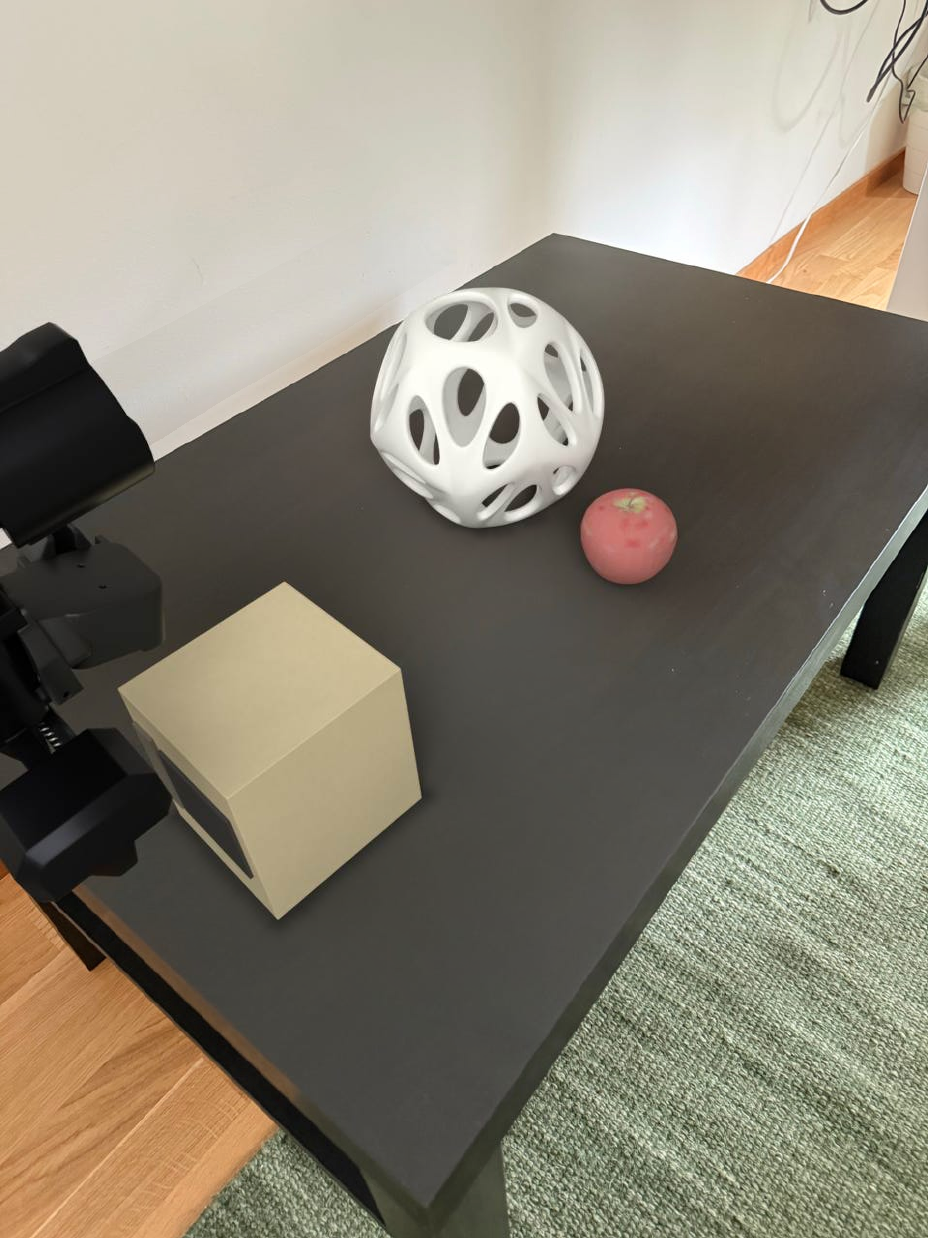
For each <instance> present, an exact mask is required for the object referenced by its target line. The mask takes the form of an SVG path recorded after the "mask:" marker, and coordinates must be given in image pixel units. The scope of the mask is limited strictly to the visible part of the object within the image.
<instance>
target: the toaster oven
mask: <svg viewBox="0 0 928 1238" xmlns="http://www.w3.org/2000/svg"><path fill="white" fill-rule="evenodd" d="M117 691H118V693H119V696H120V697H121V699H122V701H123V703H124V706H125V707H126V709H127V711H128V714H129V715H130V717H131V719H132V721H133V722H131V725H132V727H133V729H134V731H135V733H136V734H137V737H138V739H139V741H140V743H141V745H142V747H143V749H144V751H145V753H146V755H147V757H148V759H149V761H150V763H151V766H152V768H153V769H154V770H155V772H156V773H157V774H158V776H159V777H160V778H161V780H162V781H163V783H164V784H165V786H166V787H167V789H168V790H169V792H170V793H171V795H172V796H173V800H172V802H173V803H174V805H175V808H176V809H177V811H178V813H179V815H180V816H181V817H182V819H184V820H185V822H186V823H188V825H189V826H190V827H191V828H192V829H193V831H195V833H197V835H199V837H200V838H201V839H202V840H203V841H204V842H205V843H206V844H207V845H208V846H209V847H210V848H211V850H213V852H214V853H215V854H216V855H217V856H218V857H219V859H221V861H222V862H223V863H224V864H225V865H226V866H227V867H228V868H229V869H230V870H231V871H232V872H233V874H234V875H235V876H236V877H237V878H238V879H239V880H240V881H241V882H242V884H244V885H245V887H247V888H248V889H249V891H251V893H252V894H253V895H254V896H255V897H256V898H257V899H258V900H259V901H260V903H261V904H262V905H263V906H264V907H265V908H266V909H267V910H268V911H269V912H270V913H271V914H272V915H273V917H274V918H275V919H276V920H278V921H279V920H280V919H281V918H282V917H284V916H285V915H286V914H287V913H289V911H291V910H292V909H293V908H294V907H295V906H297V905H298V904H299V903H300V902H301V901H303V900H304V899H305V898H306V897H307V896H308V895H309V894H310V893H312V892H313V891H314V890H315V889H317V888H318V887H319V886H320V885H321V884H322V883H323V882H325V881H326V880H327V879H328V878H330V877H331V876H332V875H333V874H334V873H335V872H337V870H339V869H340V868H341V867H342V866H344V865H345V864H346V863H347V862H348V861H350V860H351V859H352V858H353V857H354V856H355V855H356V854H358V853H359V852H360V851H361V850H362V849H363V848H365V847H366V846H367V845H368V844H369V843H370V842H372V841H373V840H374V839H375V838H376V837H378V836H379V835H380V834H381V833H382V832H384V831H385V830H386V829H387V828H388V827H389V826H391V825H392V824H393V823H394V822H395V821H396V820H397V819H399V818H400V817H401V816H402V815H403V814H404V813H406V812H407V811H409V809H410V808H412V807H413V806H414V805H415V804H417V802H418V801H420V800H421V799H422V798H423V797H422V791H421V785H420V779H419V772H418V766H417V760H416V754H415V749H414V748H415V747H414V742H413V735H412V728H411V723H410V717H409V711H408V704H407V699H406V693H405V687H404V680H403V675H402V669H401V667H399V666H398V665H397V664H395V663H394V662H393V661H391V660H390V659H389V658H387V657H386V656H385V655H383V654H382V653H381V652H380V651H378V650H377V649H376V648H374V647H373V646H371V645H370V644H369V643H367V642H366V640H364V639H362V638H361V637H359V636H358V635H357V634H355V633H354V632H353V631H352V630H350V629H349V628H347V627H346V626H345V625H344V624H342V623H341V622H339V620H337V619H335V618H334V617H333V616H332V615H330V614H329V613H328V612H326V611H325V610H323V609H322V608H321V607H320V606H318V605H317V604H316V603H314V602H313V601H311V600H310V599H309V598H308V597H306V596H305V595H304V594H302V593H301V592H299V591H298V590H297V589H295V588H294V587H293V586H292V585H290V584H289V583H287V582H286V581H283V582H282V583H280V584H278V585H277V586H275V587H274V588H272V589H271V590H269V591H267V592H266V593H264V594H263V595H261V596H259V597H257V598H256V599H255V600H254V601H252V602H250V603H249V604H247V605H246V606H244V607H242V608H241V609H239V610H237V611H236V612H235V613H232V615H230V616H229V617H227V618H225V619H224V620H222V621H221V622H219V623H217V624H216V625H214V626H213V627H211V628H210V629H209V630H207V631H205V632H204V633H202V634H200V635H199V636H197V637H196V638H194V639H193V640H191V641H190V642H188V643H187V644H185V645H183V646H182V647H179V649H177V650H175V651H174V652H173V653H171V654H169V655H168V656H166V657H164V658H163V659H161V660H160V661H158V662H156V663H155V664H153V665H152V666H150V667H149V668H147V669H146V670H144V671H143V672H140V674H138V675H136V676H135V677H133V678H131V679H130V680H129V681H127V682H126V683H124V684H122V685H121V686H120V687H118V688H117Z"/></svg>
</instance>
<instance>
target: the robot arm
mask: <svg viewBox="0 0 928 1238" xmlns="http://www.w3.org/2000/svg"><path fill="white" fill-rule="evenodd" d="M155 472H156V461H155V459H154V454H153V452H152V449H151V447H150V445H149V442H148V440H147V438H146V436H145V434H144V432H143V430H142V428H141V427H140V425H139V424H138V422H136V421H135V420H134V419H133V418H131V417H130V416H129V415H128V414H127V413H126V411H125V410H124V408H123V406H122V405H121V403H120V402H119V400H118V399H117V397H116V396H115V394H114V393H113V392H112V390H111V389H110V387H109V386H108V385H107V383H106V382H105V381H104V379H103V378H102V376H100V374H99V373H98V372H97V370H95V368H94V367H93V366H92V365H91V364H90V362H89V361H88V358H87V357H86V354H85V352H84V351H83V348H82V346H81V344H80V342H79V340H78V339H76V338H75V337H74V336H72V335H71V334H70V333H69V332H67V330H64V329H63V328H62V327H61V326H59V325H58V324H57V323H55V322H54V323H53V322H52V321H48V322H46V323H44V324H42V325H40V326H37V327H35V328H33V329H31V330H29V331H27V332H26V333H24V334H22V335H20V336H19V337H17V338H16V339H15V340H14V341H13V342H12V343H10V344H9V345H8V346H7V347H6V348H4V349H2V350H1V351H0V530H1V529H2V531H3V533H4V534H5V535H6V537H7V538H8V539H9V541H10V542H11V544H12V545H13V546H14V548H16V550H20V551H19V556H18V557H16V558H15V562H16V567H15V568H14V569H13V570H12V571H11V572H9V573H6V574H3V575H1V576H0V754H2V755H4V756H6V757H9V758H11V759H14V760H16V761H18V762H21V764H22V765H23V766H24V767H25V769H26V771H25V772H24V773H22V774H21V775H20V776H18V777H16V778H15V779H14V780H12V781H11V782H9V783H8V784H7V785H5V786H4V787H2V788H1V789H0V861H1V862H2V864H3V865H4V867H5V868H6V870H7V871H8V873H9V875H10V876H11V877H12V878H13V881H15V882H16V883H17V884H18V885H19V886H20V887H21V889H23V890H24V891H25V892H26V893H27V894H28V895H30V896H31V897H32V898H33V900H35V901H36V902H37V903H55V902H57V903H58V902H59V901H60V900H62V899H63V898H64V897H65V896H67V895H68V894H69V893H70V892H72V891H73V890H75V888H77V887H78V886H79V885H81V884H82V883H84V882H85V881H86V880H87V879H88V878H90V877H109V878H110V877H116V878H117V877H118V878H119V877H122V876H123V875H126V874H127V873H128V872H129V871H130V870H131V869H132V868H133V867H135V866H136V865H137V864H138V862H139V856H138V850H137V845H136V841H137V840H138V839H139V838H141V837H142V836H143V835H144V834H146V833H147V832H148V831H149V830H150V829H152V828H153V827H154V826H156V825H157V824H158V823H159V822H161V821H162V820H163V819H165V818H166V817H168V815H170V811H171V807H172V804H173V796H172V795H171V793H170V792H169V790H168V789H167V787H166V786H165V784H164V783H163V781H162V780H161V778H160V777H159V776H158V774H157V773H156V771H155V769H154V767H153V766H152V765H150V764H149V762H148V761H147V760H146V759H145V758H144V757H143V756H142V755H141V754H140V752H139V751H138V750H137V749H136V748H135V747H134V746H133V744H131V742H130V741H129V740H128V739H127V738H126V736H124V735H123V733H122V732H121V731H120V730H119V729H118V728H117V727H116V726H109V727H89V728H88V727H87V728H86V729H84V730H82V731H81V732H80V733H79V734H77V733H76V732H75V731H74V730H73V729H72V728H71V727H70V726H69V724H68V723H67V722H66V721H65V720H64V718H63V717H62V716H61V715H60V714H59V712H58V711H57V710H56V709H55V708H54V707H53V705H51V703H53V704H54V705H56V706H62V705H63V704H65V703H66V702H67V701H69V700H70V699H72V698H73V697H74V696H76V695H78V694H79V693H80V692H82V691H84V690H85V687H84V686H83V684H82V683H81V682H80V680H79V678H78V677H77V676H76V675H75V673H74V671H73V670H76V671H77V670H80V671H81V670H88V669H92V668H95V667H99V666H101V665H103V664H106V663H108V662H111V661H115V660H118V659H119V658H122V657H125V656H128V655H131V654H133V653H137V652H139V651H142V652H150V651H152V650H154V649H156V648H158V647H160V646H161V645H162V644H163V643H164V642H165V640H166V623H165V606H164V593H163V592H164V591H163V590H164V589H163V579H162V577H161V576H160V575H159V574H158V573H157V572H156V571H155V570H153V568H152V567H150V566H149V565H148V564H147V563H145V561H143V560H142V559H141V558H140V557H139V556H138V555H137V554H135V553H134V552H133V551H132V550H131V549H130V548H129V547H128V546H126V545H124V544H121V543H118V542H112V541H110V540H109V539H108V537H106V536H105V535H104V534H98V535H95V536H94V544H93V543H91V541H90V540H89V539H88V538H87V537H86V536H85V534H84V533H83V532H82V531H81V530H80V528H79V527H78V526H77V525H75V524H74V523H73V522H74V521H76V520H77V519H80V518H81V517H83V516H85V515H86V514H88V513H90V512H92V511H93V510H95V509H96V508H99V507H100V506H102V505H103V504H105V503H106V502H108V501H110V500H112V499H114V498H115V497H117V496H119V495H120V494H122V493H124V492H126V491H127V490H129V489H130V488H132V487H134V486H135V485H137V484H140V483H141V482H142V481H144V480H146V479H148V478H149V477H151V476H153V475H154V474H155ZM49 744H50V745H49ZM50 746H51V747H52V748H53V750H54V751H53V752H52V750H51V747H50Z"/></svg>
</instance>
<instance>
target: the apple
mask: <svg viewBox="0 0 928 1238" xmlns="http://www.w3.org/2000/svg"><path fill="white" fill-rule="evenodd" d="M580 522H581V523H580V542H581V546H582V549H583V552H584V555H585V557H586V559H587V561H588V563H589V564H590V565H591V567H592V569H593V570H594V571H595V572H596V573H597V574H598V575H599V576H601V578H603V579H604V580H607V581H608V582H611V583H614V584H617V585H637V584H641V583H643V582H645V581H648V580H651V579H652V578H653V577H655V576H656V575H657V574H658V573H660V572H661V570H662V569H663V568H664V567H665V566H666V565H667V564H668V562H669V561H670V560H671V557H672V555H673V552H674V551H675V548H676V545H677V541H678V527H677V522H676V519H675V517H674V515H673V513H672V510H671V509H670V507H668V505H667V504H666V503H665V502H664V501H663V500H662V499H661V498H659V497H658V496H656V495H655V494H653V493H651V492H649V491H646V490H642V489H638V488H628V487H627V488H618V489H613V490H611V491H609V492H606V493H604V494H602V495H600V496H599V497H597V498H596V499H595V500H594V501H593V502H592V503H591V504H590V505H589V506H588V507H587V508H586V510H585V512H584V514H583V517H582V520H581V521H580Z"/></svg>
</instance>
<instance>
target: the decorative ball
mask: <svg viewBox="0 0 928 1238" xmlns="http://www.w3.org/2000/svg"><path fill="white" fill-rule="evenodd" d="M513 304H517V305H518V304H519V305H522V306H525V307H527V308H528V309H530V310H531V311H532V312H533V313H534V315H531V316H520V315H517V314H516V313H515V312H514V311H513V309H512V306H511V305H513ZM457 305H465V306H467V311H466V315H465V317H464V320H463V322H462V324H461V326H460V327H459V329H458V331H456V333H455V334H454V336H453V337H452V338H450V339H446V338H443V337H441V336H438V335H436V334H435V331H434V329H435V324H436V321H437V319H438V318H439V317H440V315H441V314H442V313H443V312H445V310H448V309H449V308H451V307H454V306H457ZM491 313H492V314H493V319H492V322H491V324H490V327H489V328H488V329H487V331H486V332H485V333H484V334H483V336H482V337H480V338H479V339H478V340H474V341H469V339H470V338H471V335H472V334H473V332H474V331H475V329H476V327H477V326H478V325H479V323H481V321H482V320H483V319H484V318H485V317H486V316H487V315H489V314H491ZM548 345H549V346H552V348H554V350H555V351H556V353H557V357H556V356H554V355H552V354H549V353H548V352H547V351H546V348H547V346H548ZM581 360H582V362H583V364H584V366H585V370H582V364H581V363H582V362H581ZM468 370H472V371H473V372H475V373H477V374H478V375H479V377H481V379H482V382H483V386H482V389H481V393H480V395H479V397H478V400H477V402H476V404H475V406H474V408H473V409H472V410H471V412H470V413H469V414H468V415H464V414H463V413H462V412H461V410H460V407H459V389H460V384H461V382H462V380H463V378H464V376H465V374H466V373H467V371H468ZM538 398H539V399H540V400H541V401H542V402H543V403H544V404H545V405H546V406H547V408H548V411H547V415H546V416H545V418H544V419H543V417H542V415H541V412H540V408H539V402H538ZM508 404H512V405H514V406H515V408H516V409H517V412H518V416H519V422H518V431H517V433H516V435H515V437H514V438H513V439H512V440H510V441H508V442H506V443H500V442H496V441H494V440H493V439H492V438H491V437H490V435H491V432H492V430H493V427H494V424H495V423H496V420H497V419H498V416H499V415H500V413H501V411H502V410H503V409H504V408H505V407H506V405H508ZM571 404H572V410H571V409H569V407H570V405H571ZM605 405H606V404H605V390H604V383H603V379H602V375H601V373H600V370H599V367H598V364H597V362H596V358H595V357H594V355H593V353H592V351H591V349H590V348H589V346H588V344H587V343H586V341H585V340H584V338H583V337H582V336H581V334H580V333H579V332H578V330H577V329H576V328H575V327H574V326H573V325H572V324H571V323H570V322H569V321H568V320H567V319H566V318H565V317H564V316H563V315H562V314H561V313H559V312H558V311H557V310H556V309H555V308H554V307H552V306H550V305H549V304H548V303H546V302H545V301H543V300H541V299H540V298H537V297H536V296H534V295H532V294H529V293H527V292H524V291H521V290H518V289H514V288H508V287H494V286H493V287H471V288H470V287H469V288H462V289H459V290H455V291H451V292H447V293H444V294H441V295H439V296H437V297H434V298H432V299H429V300H428V301H426V302H425V303H422V304H421V305H419V306H418V307H416V308H415V309H413V310H412V311H410V312H409V314H408V315H407V316H406V317H405V318H404V319H403V321H402V322H401V323H400V324H399V325H398V327H397V329H396V330H395V332H394V334H393V336H392V337H391V339H390V341H389V343H388V346H387V349H386V352H385V354H384V357H383V359H382V362H381V366H380V368H379V371H378V375H377V378H376V382H375V387H374V391H373V396H372V401H371V408H370V409H371V410H370V422H369V423H370V425H369V427H370V428H369V431H370V432H369V433H370V435H369V436H370V437H369V438H370V441H371V442H372V444H373V446H374V447H375V449H376V450H377V452H378V454H379V456H380V457H381V458H382V460H383V461H384V463H385V465H386V466H387V467H388V469H389V470H390V471H391V472H392V473H393V474H394V475H395V476H396V477H397V478H398V480H400V481H401V483H403V484H404V485H405V486H407V487H408V488H409V489H411V490H412V491H413V492H415V493H416V494H418V495H419V496H422V497H423V498H424V499H425V500H426V502H427V503H428V504H429V505H430V506H431V507H432V508H433V509H434V510H435V511H436V512H438V513H439V514H440V515H441V516H442V517H445V519H448V520H449V521H450V522H453V523H455V524H457V525H459V526H462V527H465V528H470V529H484V528H485V529H486V528H494V527H501V526H506V525H510V524H513V523H517V522H520V521H522V520H525V519H527V518H529V517H532V516H534V515H536V514H537V513H540V512H541V511H543V510H545V509H546V508H548V507H550V506H551V505H553V504H554V503H556V502H557V501H559V500H560V499H562V498H564V497H565V496H566V495H568V494H569V493H570V491H571V490H573V488H574V487H575V486H576V485H577V484H578V482H579V481H580V480H581V478H582V477H583V475H584V474H585V472H586V471H587V469H588V467H589V465H590V463H591V462H592V459H593V458H594V455H595V452H596V450H597V448H598V444H599V441H600V438H601V433H602V429H603V424H604V416H605ZM417 410H420V411H421V412H422V414H423V426H424V427H423V434H422V439H421V443H420V446H419V449H418V447H417V446H416V443H415V442H414V439H413V436H412V433H411V428H410V417H411V414H413V413H414V412H415V411H417ZM436 438H437V445H438V451H439V453H438V454H439V461H438V464H435V459H434V453H435V452H434V451H435V441H436ZM566 440H567V442H568V444H567V445H564V443H565V441H566ZM493 466H496V467H495V468H491V469H490V467H493ZM534 485H535V486H536V491H535V494H534V496H533V498H531V499H530V500H529V502H527V503H526V504H524V505H522V506H521V507H518V508H515V509H512V510H508V511H507V508H508V507H509V505H510V504H511V503H512V501H513V500H514V499H515V498H516V497H517V496H518V495H519V494H520V493H521V492H522V491H524V490H525V489H527V488H529V487H531V486H534ZM504 486H505V487H504ZM502 487H504V488H503V489H502V491H501V492H500V494H498V495H497V497H496V498H495V499H494V500H493V501H492V502H491V503H490V504H489V505H487V506H485V505H484V504H483V502H484V501H485V500H486V499H487V498H488V497H489V496H490V495H492V494H493V493H495V492H496V491H497V490H499V489H500V488H502Z"/></svg>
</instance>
